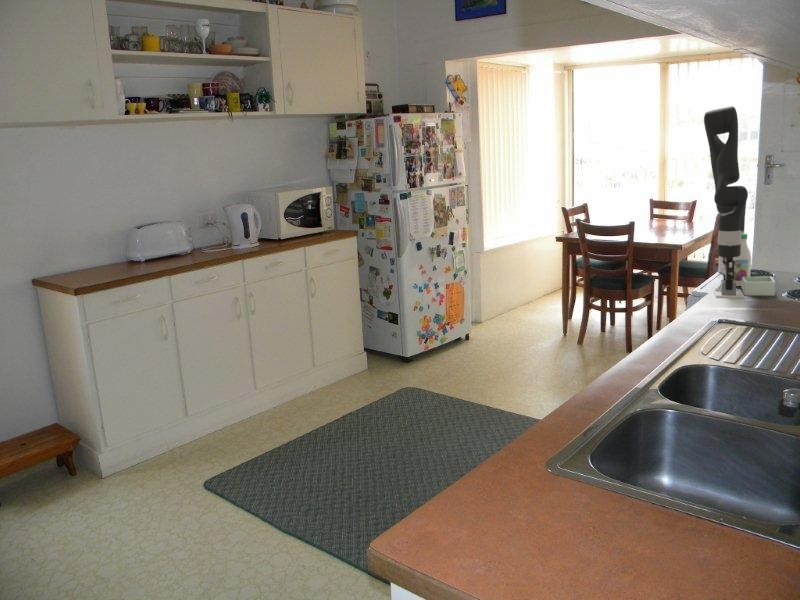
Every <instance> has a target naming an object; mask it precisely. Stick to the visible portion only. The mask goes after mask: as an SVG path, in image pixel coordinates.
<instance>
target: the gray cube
mask: <svg viewBox="0 0 800 600" xmlns="http://www.w3.org/2000/svg"><path fill="white" fill-rule="evenodd" d="M720 289H721V295H736V289H737V287H736V282H735V280H733V289H732V290H726V280H723V279H722V280H720Z"/></svg>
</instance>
